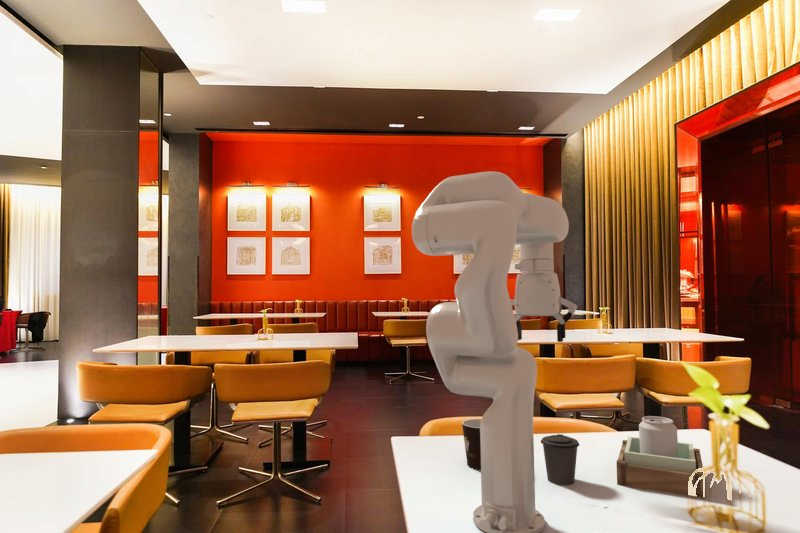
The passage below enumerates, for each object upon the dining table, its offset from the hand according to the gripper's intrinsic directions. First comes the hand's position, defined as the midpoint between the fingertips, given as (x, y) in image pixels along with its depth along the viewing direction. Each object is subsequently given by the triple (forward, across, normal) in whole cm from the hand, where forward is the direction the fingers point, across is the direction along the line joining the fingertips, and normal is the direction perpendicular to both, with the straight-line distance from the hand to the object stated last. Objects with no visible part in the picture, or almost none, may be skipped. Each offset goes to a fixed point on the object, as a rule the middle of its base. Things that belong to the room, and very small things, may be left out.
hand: (539, 340), depth 115 cm
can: (+29, +24, +7) cm, 38 cm away
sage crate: (+30, +24, +7) cm, 39 cm away
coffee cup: (+31, +5, -5) cm, 31 cm away
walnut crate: (+30, +24, +7) cm, 39 cm away
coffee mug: (+31, -14, -3) cm, 34 cm away
